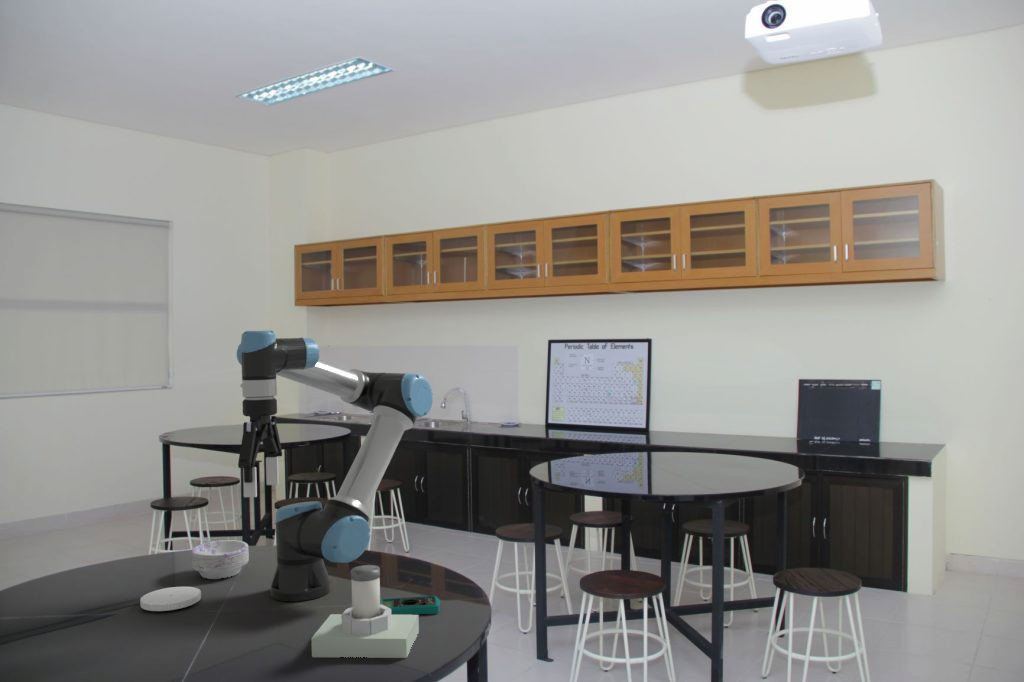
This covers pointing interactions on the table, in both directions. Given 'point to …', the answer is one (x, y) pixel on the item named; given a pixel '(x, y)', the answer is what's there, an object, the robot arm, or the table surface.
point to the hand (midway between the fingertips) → (261, 490)
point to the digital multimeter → (412, 605)
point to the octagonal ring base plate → (366, 635)
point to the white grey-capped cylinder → (365, 591)
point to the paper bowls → (219, 558)
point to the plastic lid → (170, 598)
